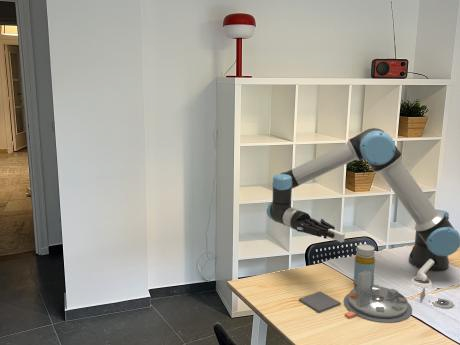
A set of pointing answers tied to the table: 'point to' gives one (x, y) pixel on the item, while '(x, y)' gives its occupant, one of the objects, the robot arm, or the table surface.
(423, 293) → the bracket
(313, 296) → the pad
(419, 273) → the hook
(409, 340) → the table surface
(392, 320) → the plate
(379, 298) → the round flange disc
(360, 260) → the bottle
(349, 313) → the pointer
